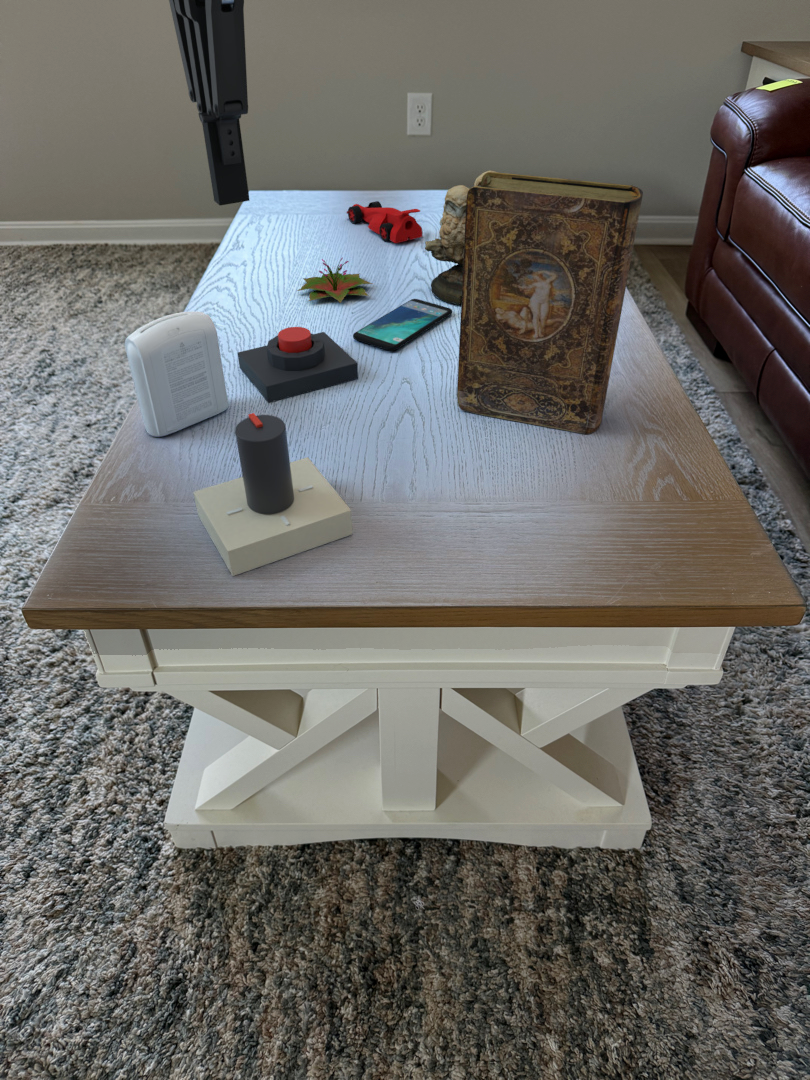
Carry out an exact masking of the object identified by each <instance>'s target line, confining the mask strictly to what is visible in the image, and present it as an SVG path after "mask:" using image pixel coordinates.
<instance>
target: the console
mask: <svg viewBox="0 0 810 1080" xmlns="http://www.w3.org/2000/svg"><path fill="white" fill-rule="evenodd" d="M290 467H291V476H292V484H293V492H294V501H293V503H292V505H291V506H290V507H289V508H287V509H286V510H284V511H282V512H279V513H275V514H260V513H257V512H255V511H253V510H251V509H250V508H249V506H248V504H247V499H246V493H245V487H244V481H243V476H241V477H238V478H234V479H231V480H228V481H227V480H226V481H224V482H222V483H218V484H215V485H211V486H208V487H204V488H201V489H198V490H195V491H193V493H192V494H193V499H194V502H195V506H196V511H197V516H198V518H199V520H200V521H201V523H202V525H203V527H204V529H205V530H206V532H207V534H208V536H209V537H210V539H211V540H212V542H213V544H214V546H215V548H216V549H217V551H218V553H219V555H220V556H221V558H222V560H223V562H224V563H225V566H226V568H227V570H228V571H229V572H230V574H231V576H232V577H234V576H235V577H236V576H237V575H240V574H244V573H246V572H249V571H253V570H255V569H258V568H261V567H263V566H267V565H269V564H272V563H274V562H277V561H280V560H284V559H286V558H289V557H292V556H295V555H298V554H301V553H304V552H307V551H309V550H312V549H315V548H318V547H320V546H323V545H327V544H329V543H332V542H335V541H338V540H341V539H344V538H346V537H349V536H352V535H353V519H352V509H351V508H350V507H349V505H348V504H347V503H346V501H344V500H343V498H342V497H341V496H340V494H339V493H338V492H337V490H335V488H334V487H333V486H332V485H331V484H330V483H329V481H328V480H327V479H326V477H325V476H324V475H323V474H322V472H321V471H320V470H319V469H318V467H317V466H316V465H315V464H314V462H313V461H312V460H311V459H310V458H309V457H308V456H307V457H305V458H301V459H298V460H294V461H290Z"/></svg>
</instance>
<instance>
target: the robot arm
mask: <svg viewBox="0 0 810 1080" xmlns="http://www.w3.org/2000/svg"><path fill="white" fill-rule="evenodd" d="M168 2H169V8H170V11H171V12H170V13H171V17H172V21H173V25H174V30H175V35H176V39H177V40H176V41H177V45H178V49H179V53H180V57H181V63H182V67H183V72H184V76H185V82H186V85H187V91H188V97H189V99H190V101H191V103H194V104H195V103H196V110H197V111H198V113H197V114H198V118H199V121H200V123H201V125H202V132H203V138H204V143H205V144H204V145H205V151H206V156H207V157H206V158H207V163H208V168H209V169H208V170H209V175H210V177H209V178H210V183H211V189H212V196H213V201H214V202H215V203H216V204H217V205H218V206H226V205H233V204H237V203H244V202H250V193H249V186H248V177H247V169H246V163H245V153H244V146H243V138H242V130H241V122H240V119H241V118H242V115H248V113H249V101H248V99H249V98H248V78H247V76H248V75H247V60H246V59H247V57H246V55H247V54H246V32H245V11H244V8H245V7H244V6H245V0H168Z"/></svg>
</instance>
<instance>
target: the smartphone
mask: <svg viewBox="0 0 810 1080" xmlns="http://www.w3.org/2000/svg"><path fill="white" fill-rule="evenodd" d="M452 314H453V309H452V308H450V307H447V306H444V305H440V304H437V303H433V302H429V301H426V300H422V299H418V298H411V299H409V300H408V301H406V302H404V303H403V304H401V305H399V306H397V307H396V308H394V309H392V310H391V311H389V312H387V313H386V314H384V315H382V316H380V317H379V318H377V319H376V320H374V321H372V322H371V323H369V324H367V325H366V326H364V327H362V328H360V329H359V330H357V331H355V332H354V333H352V337H353V340H355V341H358V342H361V343H363V344H368V345H371V346H374V347H376V348H379V349H382V350H386V351H390V352H394V351H396V350H398V349H400V348H401V347H403V346H404V345H405V344H407V343H409V342H410V341H412V340H414V339H415V338H416V337H418V336H420V335H421V334H423V333H424V332H426V331H427V330H429V329H431V328H432V327H434V326H436V325H437V324H438V323H440V322H441V321H443V320H445V319H446V318H448V317H449V316H450V315H452Z"/></svg>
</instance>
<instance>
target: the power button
mask: <svg viewBox="0 0 810 1080" xmlns="http://www.w3.org/2000/svg"><path fill="white" fill-rule="evenodd" d="M311 333H312V332H311V330H310V329H308V328H306V327H302V326H289V327H286V328H283V329H281V330H280V331H278V333H277V335H278V341H279V349H280V350H281V351H284V352H287V353H299V352H303V351H307V350H309V349H310V348H311V347H312V342H311Z"/></svg>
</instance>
